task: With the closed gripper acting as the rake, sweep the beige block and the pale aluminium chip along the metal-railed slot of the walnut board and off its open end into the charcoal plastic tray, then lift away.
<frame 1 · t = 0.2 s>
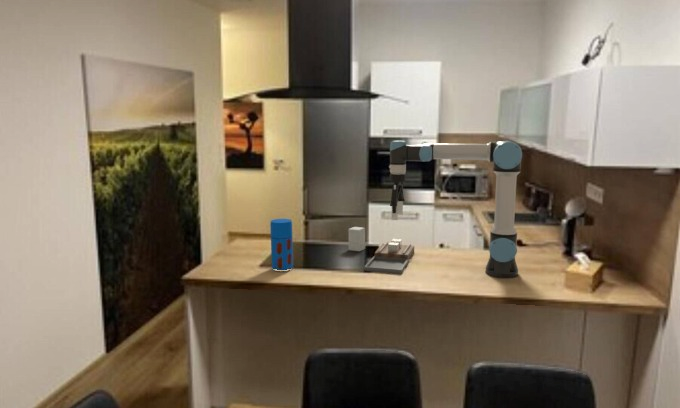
hand: (397, 217, 242), 28 cm above the countertop, fingers open, 13 cm apart
supplement box: (356, 249, 291), on the countertop
thermos: (282, 269, 255), on the countertop
slot board: (394, 256, 276), on the countertop
chip tray: (386, 266, 257), on the countertop
beige block: (393, 250, 272), point 4 cm above the countertop, touching slot board
rear chip: (396, 247, 279), point 4 cm above the countertop, touching slot board
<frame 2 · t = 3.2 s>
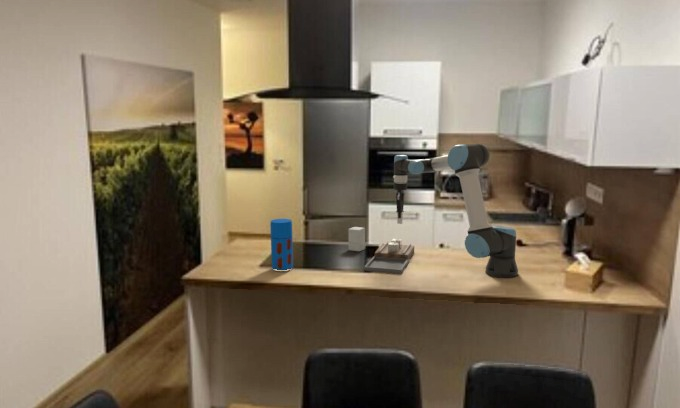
hand: (399, 223, 287), 16 cm above the countertop, fingers closed
nothing on the countertop moved.
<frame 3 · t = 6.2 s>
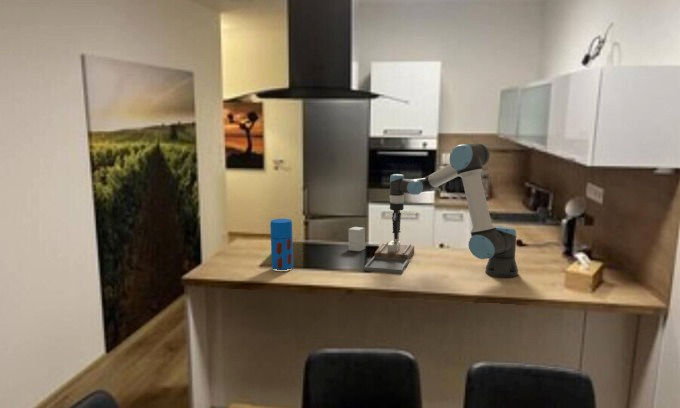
hand: (396, 244, 278), 6 cm above the countertop, fingers closed
beige block: (393, 251, 271), point 4 cm above the countertop, touching rear chip
rear chip: (395, 248, 276), point 4 cm above the countertop, touching beige block, gripper
everything else where it was.
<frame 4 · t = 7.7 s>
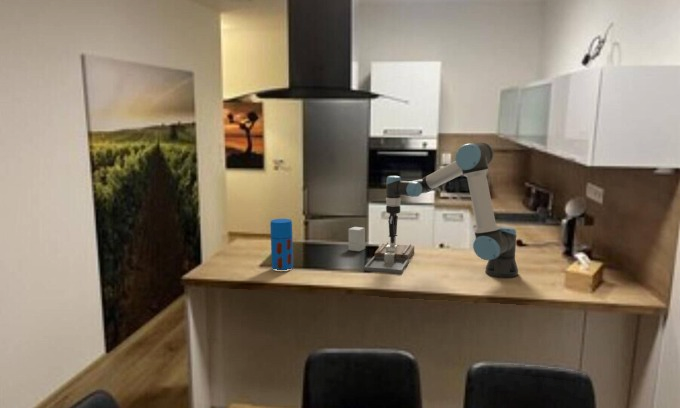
hand: (392, 248, 270), 6 cm above the countertop, fingers closed
beige block: (390, 256, 264), point 3 cm above the countertop, tilted 90°, touching chip tray
rear chip: (391, 253, 267), point 4 cm above the countertop, touching gripper
everything else where it was.
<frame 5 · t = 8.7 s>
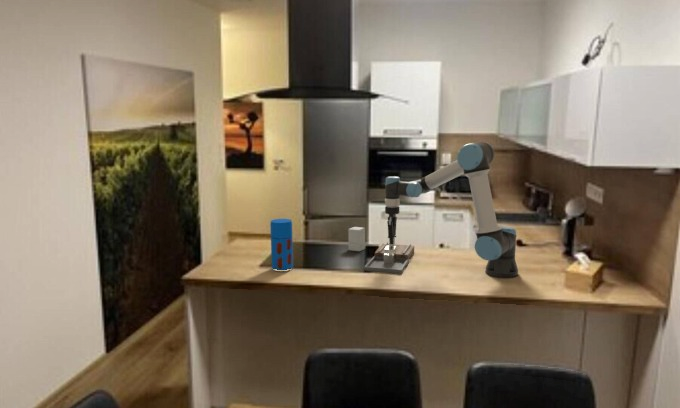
hand: (391, 249, 267), 6 cm above the countertop, fingers closed
beige block: (390, 256, 263), point 4 cm above the countertop, tilted 99°, touching rear chip
rear chip: (390, 254, 265), point 4 cm above the countertop, tilted 9°, touching beige block, gripper
everything else where it was.
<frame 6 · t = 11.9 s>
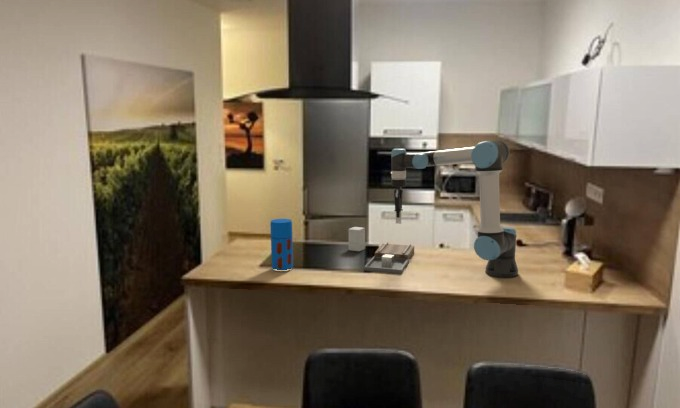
hand: (398, 223, 264), 20 cm above the countertop, fingers closed
beige block: (388, 259, 258), point 3 cm above the countertop, tilted 90°, touching chip tray
rear chip: (388, 263, 261), resting on chip tray
everything else where it was.
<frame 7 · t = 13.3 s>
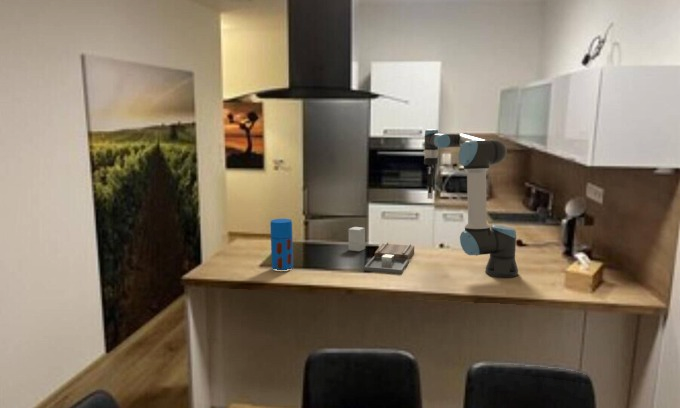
hand: (430, 198, 287), 29 cm above the countertop, fingers closed
nothing on the countertop moved.
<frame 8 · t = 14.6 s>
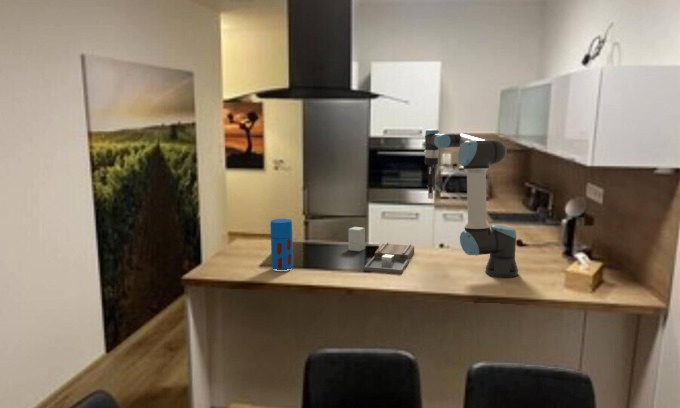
hand: (430, 198, 287), 29 cm above the countertop, fingers closed
nothing on the countertop moved.
at the end: beige block inside the target area on the chip tray (1.9 cm from its centre), point 3.0 cm above the chip tray's base; rear chip inside the target area on the chip tray (4.5 cm from its centre), point 0.5 cm above the chip tray's base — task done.
